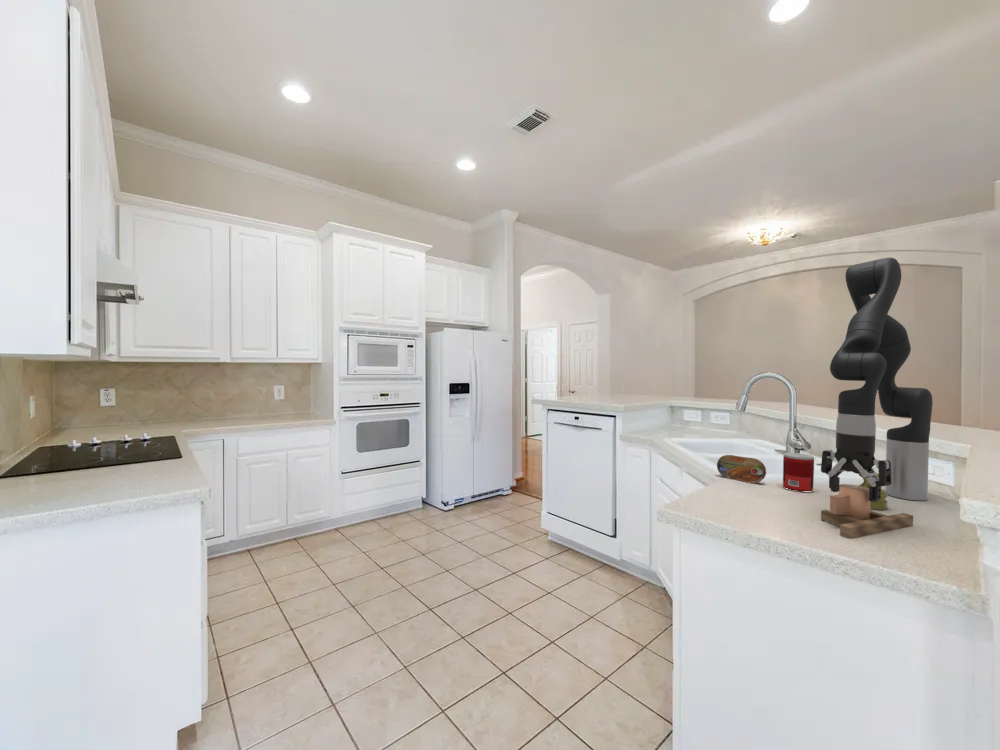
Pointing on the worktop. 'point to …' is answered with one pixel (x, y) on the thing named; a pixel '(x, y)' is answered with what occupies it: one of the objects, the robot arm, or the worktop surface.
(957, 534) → the worktop surface
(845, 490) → the tan paddle shape
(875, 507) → the brass doorknob
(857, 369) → the robot arm
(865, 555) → the worktop surface
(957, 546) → the worktop surface
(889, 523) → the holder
